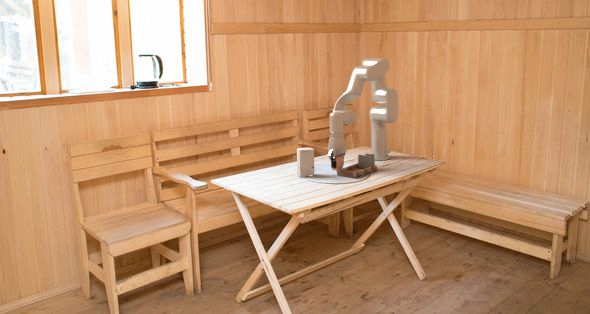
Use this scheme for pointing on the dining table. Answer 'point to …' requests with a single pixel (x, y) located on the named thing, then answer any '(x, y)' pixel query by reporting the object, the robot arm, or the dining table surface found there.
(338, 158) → the jar
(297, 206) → the dining table surface
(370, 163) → the pusher
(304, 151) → the skincare box
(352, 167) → the brown wooden tray
